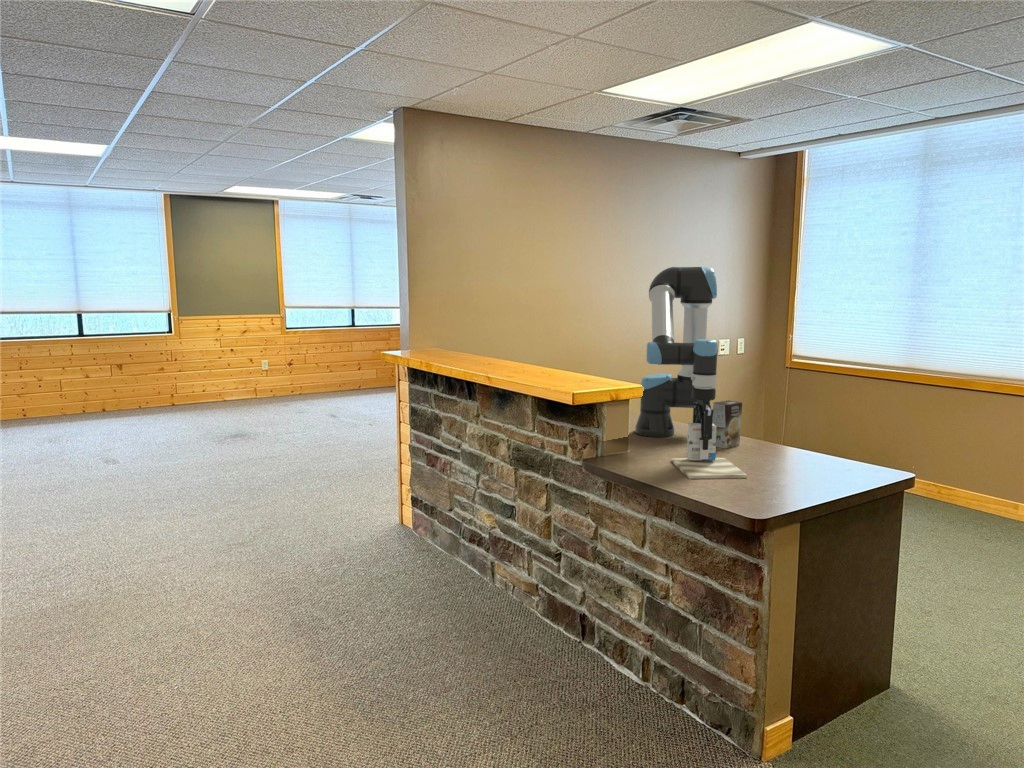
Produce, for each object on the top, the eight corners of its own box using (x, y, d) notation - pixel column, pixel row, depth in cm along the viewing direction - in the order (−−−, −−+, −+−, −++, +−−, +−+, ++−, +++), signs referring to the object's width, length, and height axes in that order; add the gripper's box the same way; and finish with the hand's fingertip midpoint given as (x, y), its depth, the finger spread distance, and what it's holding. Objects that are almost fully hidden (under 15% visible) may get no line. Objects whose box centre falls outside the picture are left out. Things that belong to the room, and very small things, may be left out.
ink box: (712, 457, 229) (714, 422, 227) (715, 461, 224) (717, 425, 222) (686, 456, 230) (687, 422, 228) (688, 460, 225) (690, 425, 223)
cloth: (671, 461, 230) (671, 458, 230) (724, 460, 230) (724, 457, 230) (689, 478, 210) (689, 475, 210) (746, 477, 211) (747, 474, 211)
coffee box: (725, 449, 246) (727, 405, 244) (710, 445, 251) (712, 402, 249) (740, 445, 252) (742, 402, 249) (725, 441, 257) (727, 399, 254)
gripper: (684, 382, 232) (681, 449, 236) (701, 391, 214) (698, 464, 218) (706, 382, 232) (703, 449, 236) (725, 391, 214) (721, 463, 218)
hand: (700, 456), depth 227 cm, fingers closed on ink box, 5 cm apart
